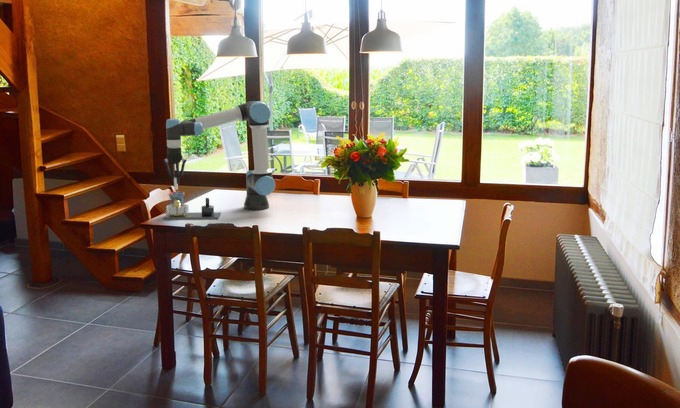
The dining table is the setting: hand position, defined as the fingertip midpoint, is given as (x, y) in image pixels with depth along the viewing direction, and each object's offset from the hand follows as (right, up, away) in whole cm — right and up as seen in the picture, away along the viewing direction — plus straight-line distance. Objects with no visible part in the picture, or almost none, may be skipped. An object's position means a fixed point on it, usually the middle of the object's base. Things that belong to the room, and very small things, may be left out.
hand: (176, 189), depth 376 cm
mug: (-5, -12, +27) cm, 29 cm away
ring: (-1, -13, +6) cm, 14 cm away
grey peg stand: (+8, -16, +8) cm, 19 cm away
